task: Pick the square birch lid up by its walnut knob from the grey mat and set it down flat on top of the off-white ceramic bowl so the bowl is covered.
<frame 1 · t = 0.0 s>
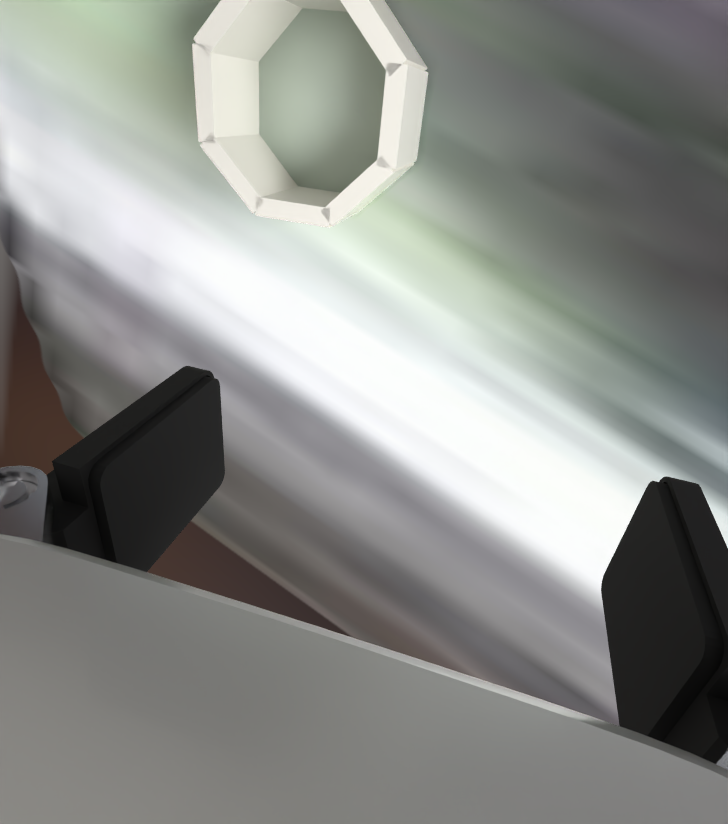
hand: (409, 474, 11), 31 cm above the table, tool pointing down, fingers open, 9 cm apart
ceramic bowl: (332, 107, 37), on the table
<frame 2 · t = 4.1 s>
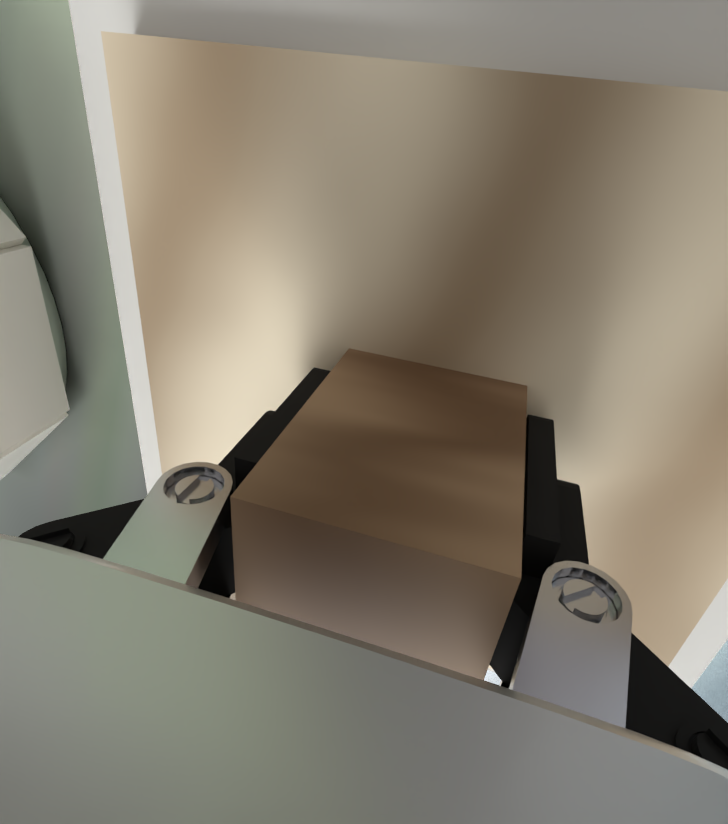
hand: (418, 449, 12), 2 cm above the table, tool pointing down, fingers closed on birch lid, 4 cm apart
grey mat: (431, 410, 14), on the table
birch lid: (428, 420, 13), resting on grey mat, touching gripper
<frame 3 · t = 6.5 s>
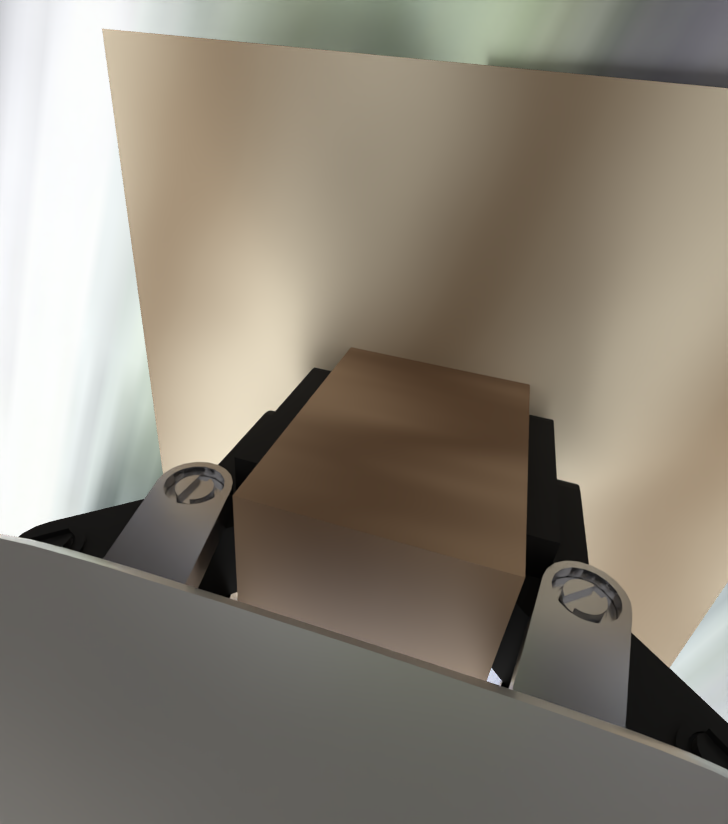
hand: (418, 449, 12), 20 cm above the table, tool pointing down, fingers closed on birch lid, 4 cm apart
birch lid: (430, 419, 13), point 18 cm above the table, touching gripper
when the fingers open (10 cm above the table, at t = 9.3 s): birch lid drops 1 cm, resting on ceramic bowl.
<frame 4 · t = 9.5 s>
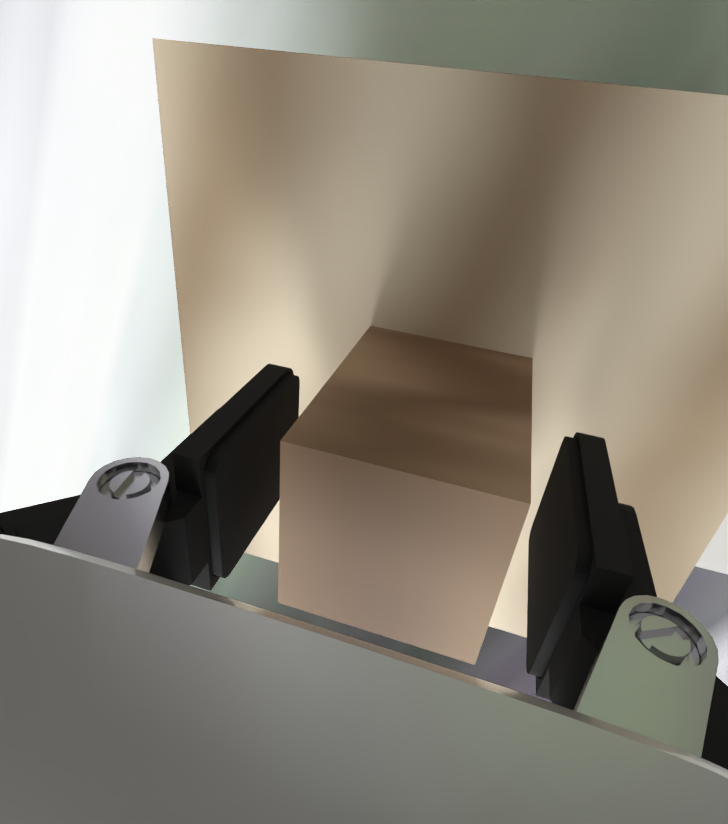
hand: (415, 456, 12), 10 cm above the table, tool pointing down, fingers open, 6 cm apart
birch lid: (441, 394, 14), point 7 cm above the table, touching ceramic bowl
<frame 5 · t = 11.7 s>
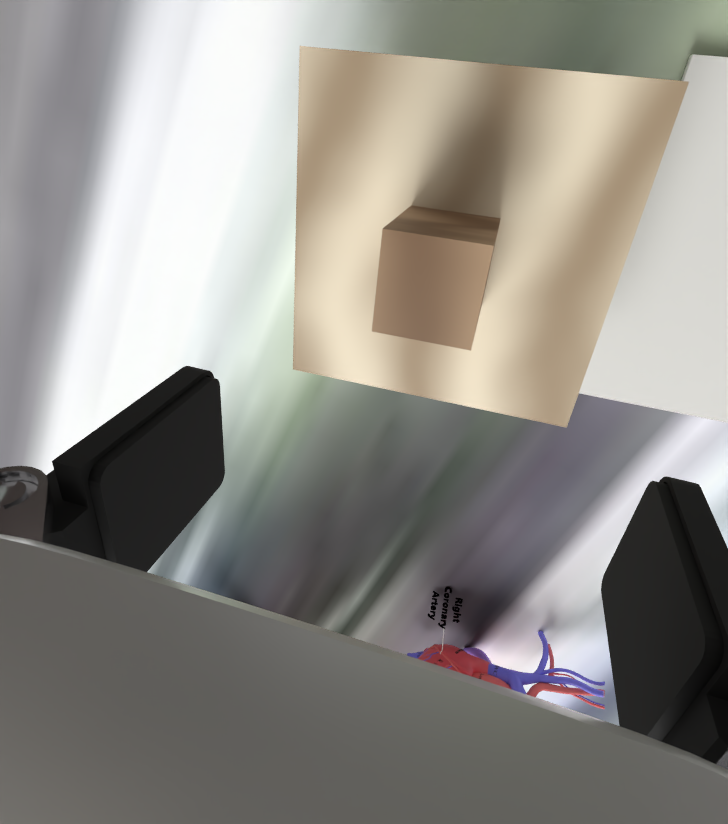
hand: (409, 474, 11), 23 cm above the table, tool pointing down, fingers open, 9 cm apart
heart model: (484, 625, 47), on the table
birch lid: (450, 252, 25), point 7 cm above the table, touching ceramic bowl
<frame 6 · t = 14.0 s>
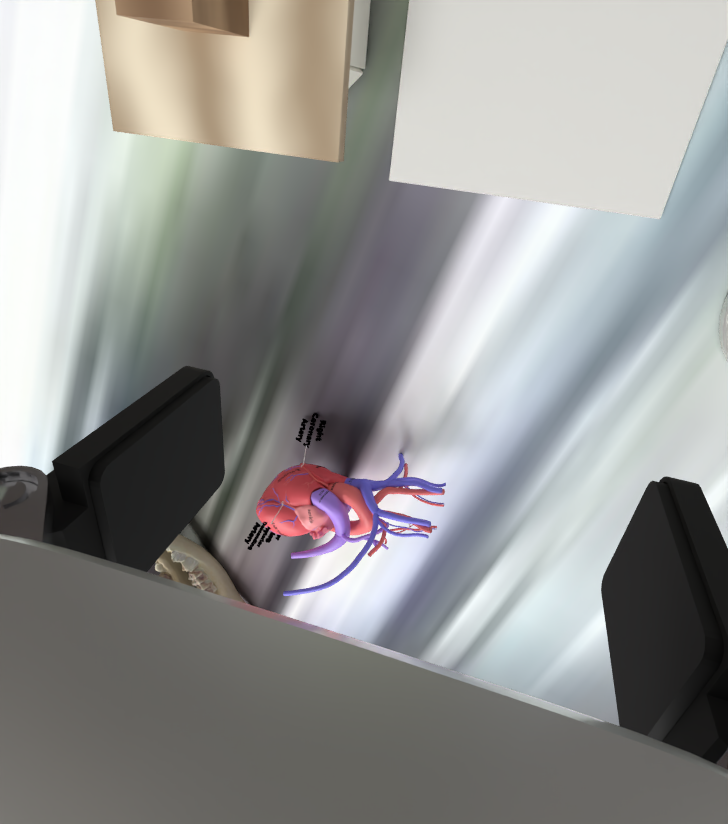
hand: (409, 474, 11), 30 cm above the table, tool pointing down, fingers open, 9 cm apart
jawbone: (193, 549, 65), on the table
heart model: (353, 454, 50), on the table
grey mat: (556, 36, 31), on the table
ceramic bowl: (275, 12, 34), on the table
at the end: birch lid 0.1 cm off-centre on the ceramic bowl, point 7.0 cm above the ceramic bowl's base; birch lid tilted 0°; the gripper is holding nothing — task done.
